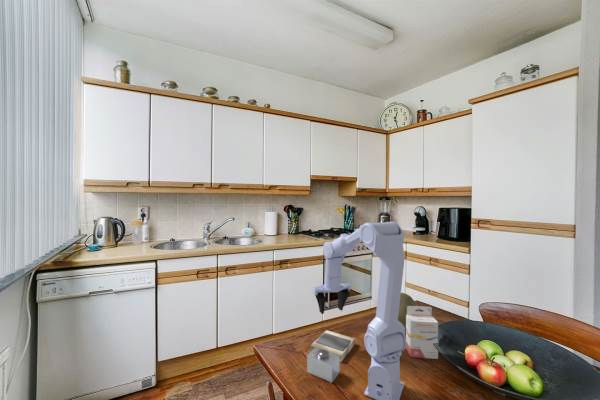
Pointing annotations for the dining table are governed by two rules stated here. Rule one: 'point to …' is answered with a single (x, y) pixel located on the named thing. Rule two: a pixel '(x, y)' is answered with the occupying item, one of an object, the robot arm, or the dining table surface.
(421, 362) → the dining table surface
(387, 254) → the robot arm
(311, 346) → the stand
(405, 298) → the fruit
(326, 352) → the housing
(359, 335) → the dining table surface
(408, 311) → the ink cartridge box
